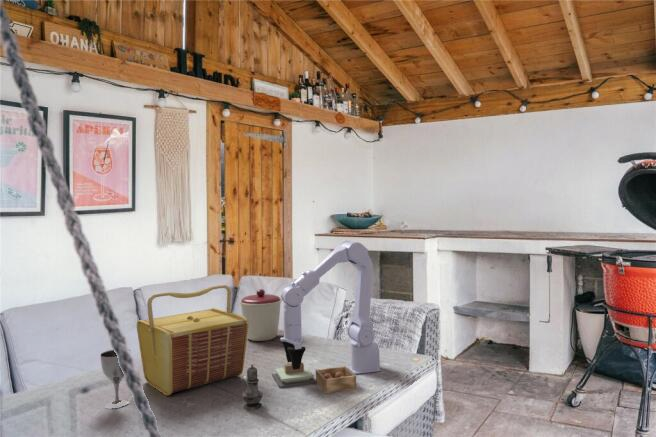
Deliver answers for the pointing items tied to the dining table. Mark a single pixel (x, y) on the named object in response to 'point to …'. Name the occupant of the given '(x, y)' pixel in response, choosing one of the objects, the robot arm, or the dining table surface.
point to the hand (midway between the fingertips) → (293, 365)
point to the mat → (282, 384)
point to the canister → (261, 315)
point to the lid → (294, 373)
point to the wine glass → (112, 370)
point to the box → (335, 379)
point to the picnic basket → (192, 345)
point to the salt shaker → (252, 390)
